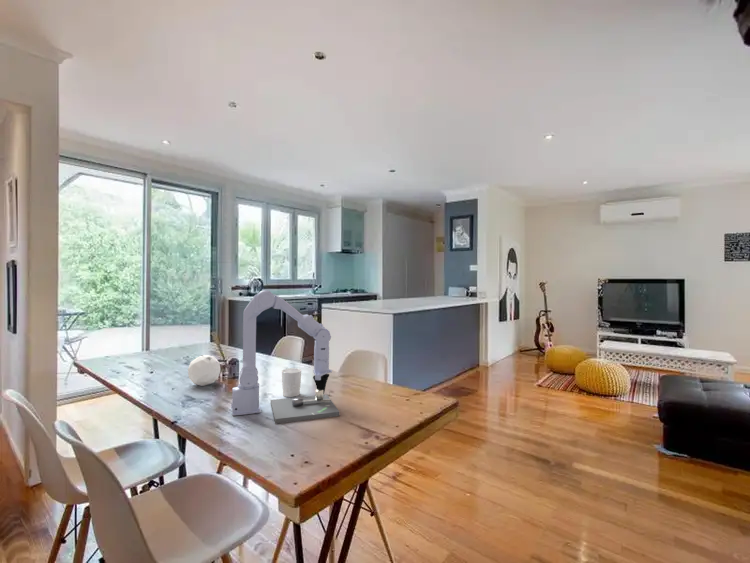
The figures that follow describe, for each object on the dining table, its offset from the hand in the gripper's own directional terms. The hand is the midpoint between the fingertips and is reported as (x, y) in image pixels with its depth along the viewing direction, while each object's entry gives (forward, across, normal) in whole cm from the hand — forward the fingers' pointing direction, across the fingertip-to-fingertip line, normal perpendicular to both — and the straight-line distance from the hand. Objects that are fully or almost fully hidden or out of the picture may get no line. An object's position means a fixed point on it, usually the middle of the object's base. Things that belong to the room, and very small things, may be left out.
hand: (321, 393), depth 144 cm
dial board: (+4, -7, +5) cm, 9 cm away
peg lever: (+2, -5, +3) cm, 6 cm away
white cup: (+4, +10, +14) cm, 18 cm away
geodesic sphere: (+4, +21, +56) cm, 60 cm away
